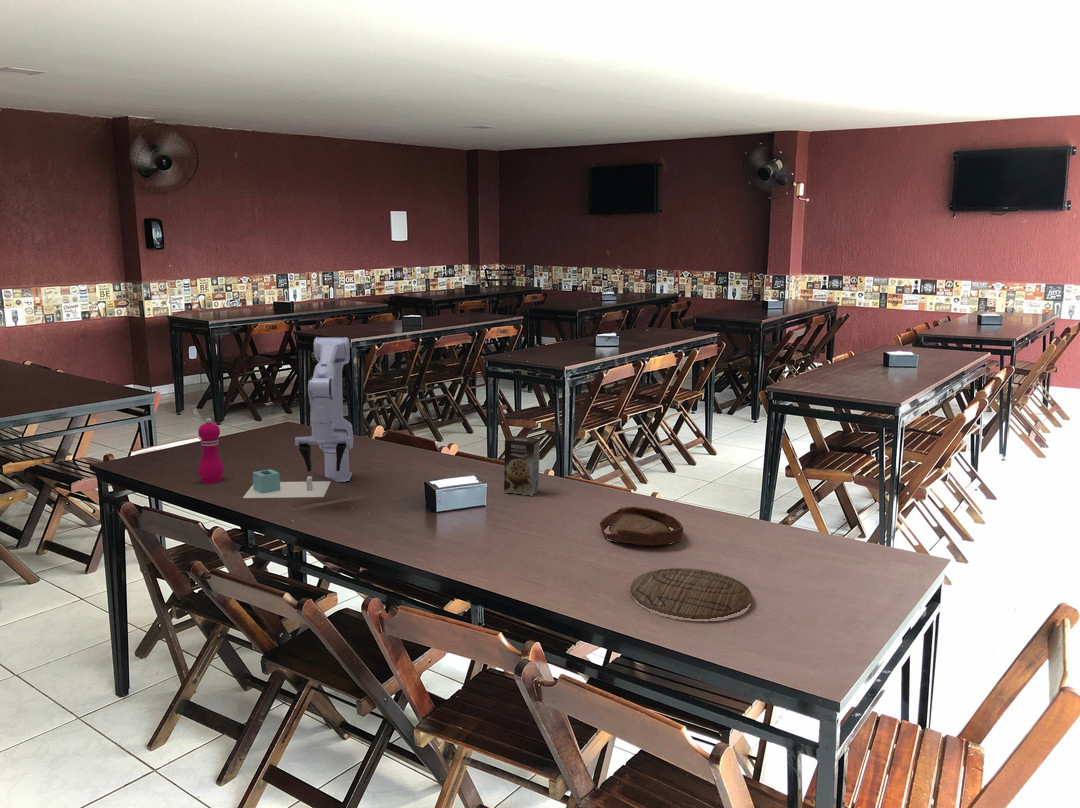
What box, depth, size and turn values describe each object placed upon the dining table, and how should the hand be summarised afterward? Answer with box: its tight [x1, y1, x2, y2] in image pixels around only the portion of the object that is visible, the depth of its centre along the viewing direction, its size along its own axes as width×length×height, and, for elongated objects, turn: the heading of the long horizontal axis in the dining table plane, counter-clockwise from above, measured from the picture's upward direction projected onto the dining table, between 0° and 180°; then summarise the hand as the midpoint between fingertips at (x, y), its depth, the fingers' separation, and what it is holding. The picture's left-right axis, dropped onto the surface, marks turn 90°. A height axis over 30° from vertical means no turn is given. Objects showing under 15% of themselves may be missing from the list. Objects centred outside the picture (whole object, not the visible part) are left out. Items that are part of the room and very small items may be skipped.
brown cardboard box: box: [503, 435, 541, 496], centre depth 259 cm, size 9×6×16 cm
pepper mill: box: [197, 417, 225, 484], centre depth 262 cm, size 7×7×20 cm
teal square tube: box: [252, 468, 281, 494], centre depth 254 cm, size 6×6×5 cm
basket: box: [599, 506, 684, 546], centre depth 224 cm, size 22×20×5 cm
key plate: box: [242, 475, 332, 499], centre depth 255 cm, size 16×22×5 cm
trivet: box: [630, 567, 753, 619], centre depth 186 cm, size 25×25×2 cm
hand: (323, 470), depth 242 cm, fingers open, 7 cm apart
